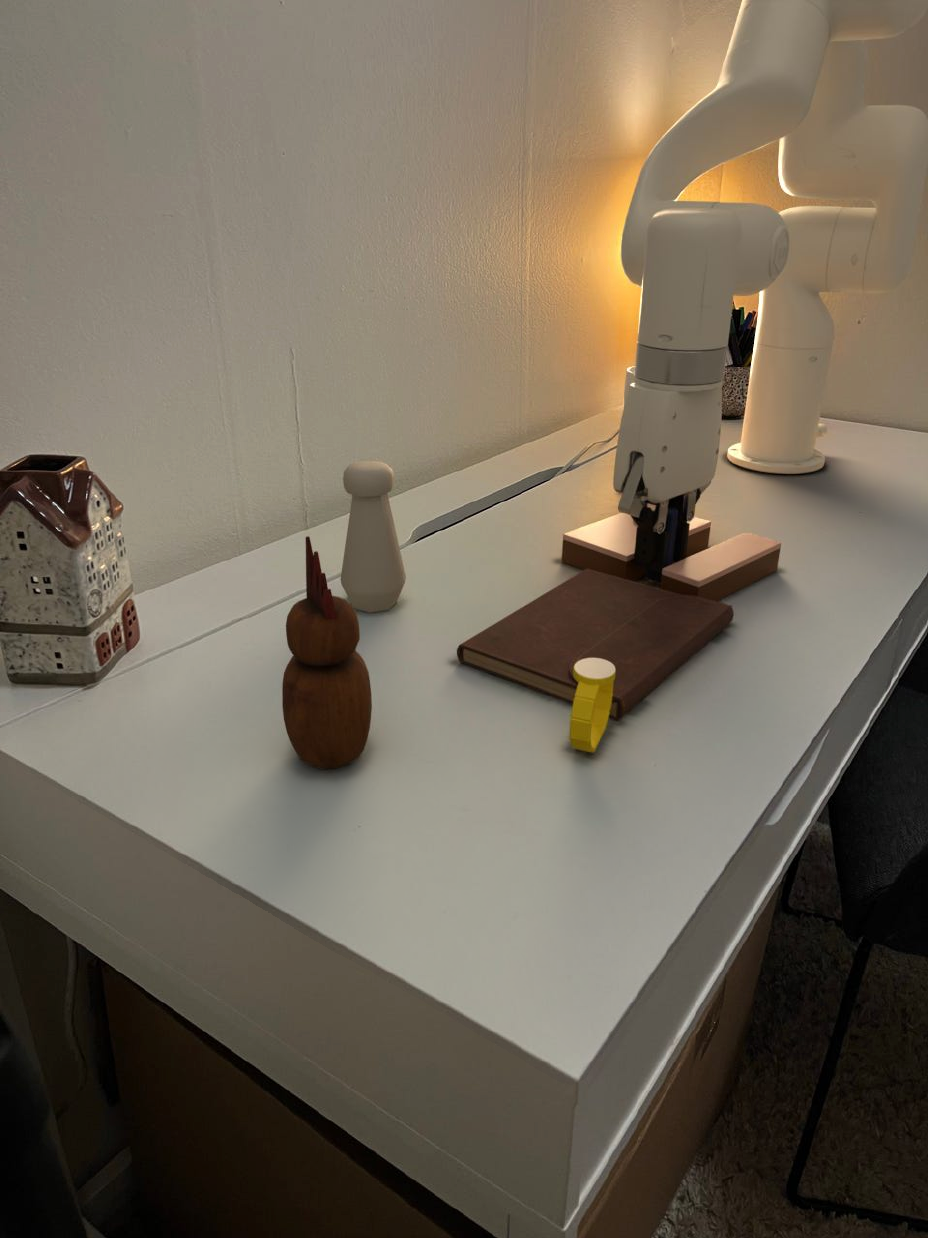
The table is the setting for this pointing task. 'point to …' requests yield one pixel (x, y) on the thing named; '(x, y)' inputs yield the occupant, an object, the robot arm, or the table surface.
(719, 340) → the robot arm
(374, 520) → the salt shaker
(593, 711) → the watch
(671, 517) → the eraser
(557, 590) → the notebook
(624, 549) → the brown and tan block
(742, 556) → the brown long rectangular block
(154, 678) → the table surface
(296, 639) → the wooden figurine
